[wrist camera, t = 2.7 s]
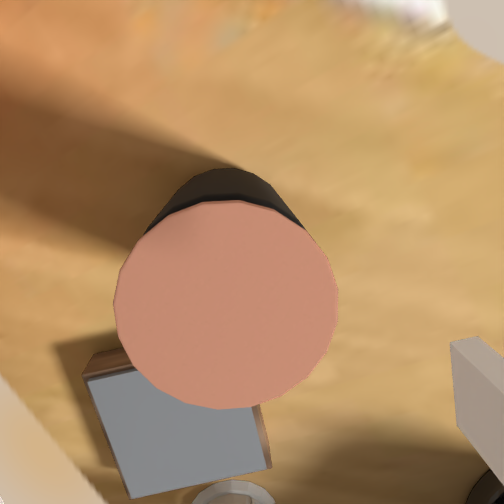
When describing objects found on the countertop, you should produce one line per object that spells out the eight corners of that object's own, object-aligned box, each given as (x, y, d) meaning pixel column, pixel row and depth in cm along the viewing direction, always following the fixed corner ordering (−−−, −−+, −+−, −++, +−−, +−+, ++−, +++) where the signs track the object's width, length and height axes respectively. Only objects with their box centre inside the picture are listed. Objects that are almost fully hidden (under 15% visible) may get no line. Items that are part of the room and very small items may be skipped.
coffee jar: (182, 295, 39) (147, 430, 21) (151, 180, 35) (80, 228, 18) (297, 271, 38) (354, 386, 21) (275, 154, 35) (322, 177, 18)
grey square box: (268, 442, 43) (272, 472, 40) (136, 471, 44) (128, 504, 40) (238, 321, 40) (240, 342, 36) (93, 354, 40) (79, 378, 36)
